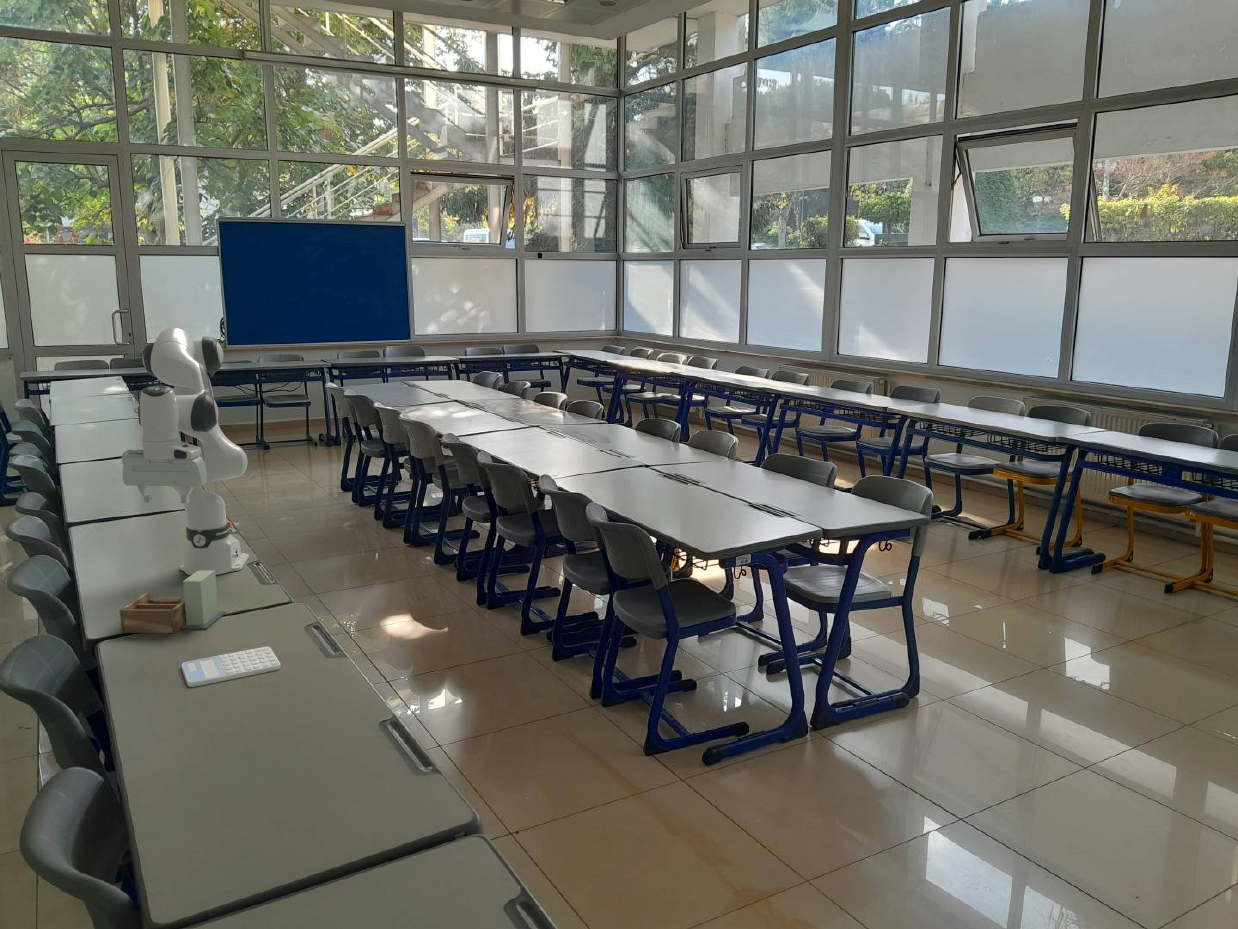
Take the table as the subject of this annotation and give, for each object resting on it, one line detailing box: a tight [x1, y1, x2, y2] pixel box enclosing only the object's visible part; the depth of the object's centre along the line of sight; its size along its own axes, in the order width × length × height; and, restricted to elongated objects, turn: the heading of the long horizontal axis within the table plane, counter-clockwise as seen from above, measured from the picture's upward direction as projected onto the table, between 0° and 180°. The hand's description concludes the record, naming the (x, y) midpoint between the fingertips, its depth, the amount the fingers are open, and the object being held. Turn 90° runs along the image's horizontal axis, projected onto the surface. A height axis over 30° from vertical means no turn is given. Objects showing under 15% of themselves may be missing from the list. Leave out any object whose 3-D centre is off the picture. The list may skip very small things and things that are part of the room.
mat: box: [180, 610, 226, 631], centre depth 242 cm, size 12×7×1 cm, turn 1°
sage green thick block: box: [182, 570, 219, 625], centre depth 241 cm, size 4×9×12 cm, turn 1°
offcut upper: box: [153, 596, 183, 604], centre depth 243 cm, size 4×6×2 cm, turn 94°
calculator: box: [180, 646, 282, 688], centre depth 213 cm, size 13×20×2 cm, turn 122°
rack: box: [119, 591, 186, 634], centre depth 240 cm, size 14×14×6 cm
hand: (167, 502), depth 237 cm, fingers open, 8 cm apart
